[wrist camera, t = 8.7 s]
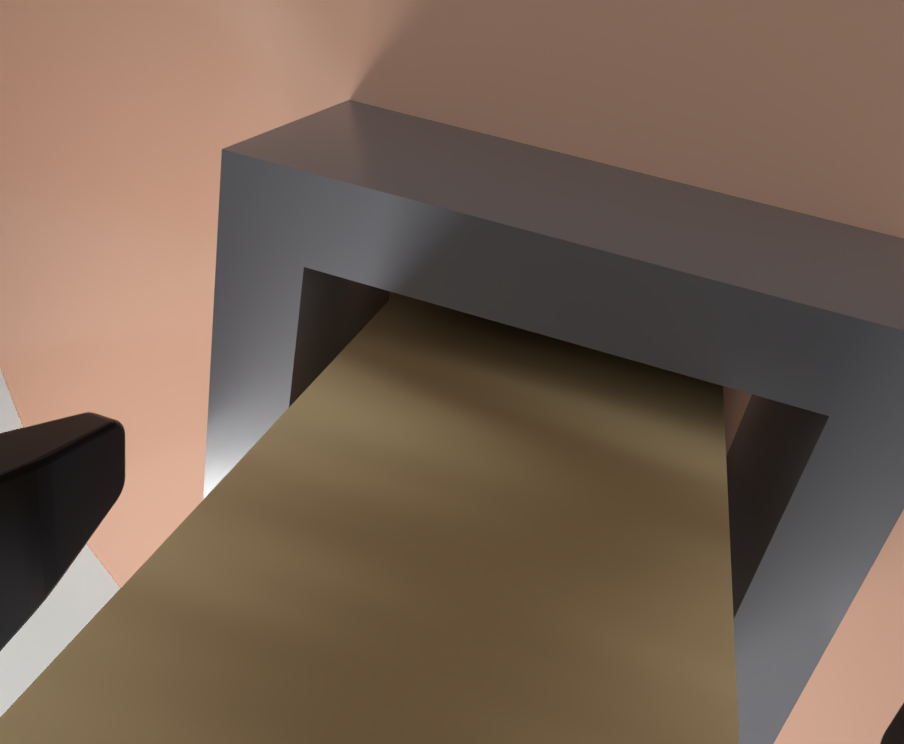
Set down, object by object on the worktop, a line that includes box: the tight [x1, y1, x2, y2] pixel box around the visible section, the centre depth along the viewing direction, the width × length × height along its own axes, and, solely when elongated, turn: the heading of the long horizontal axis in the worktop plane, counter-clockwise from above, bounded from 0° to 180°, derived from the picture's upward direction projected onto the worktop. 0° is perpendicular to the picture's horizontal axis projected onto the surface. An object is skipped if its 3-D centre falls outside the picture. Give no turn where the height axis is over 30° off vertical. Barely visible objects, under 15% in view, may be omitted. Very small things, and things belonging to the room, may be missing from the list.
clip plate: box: [0, 0, 904, 744], centre depth 12 cm, size 20×20×4 cm
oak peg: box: [0, 293, 739, 744], centre depth 9 cm, size 4×4×9 cm
